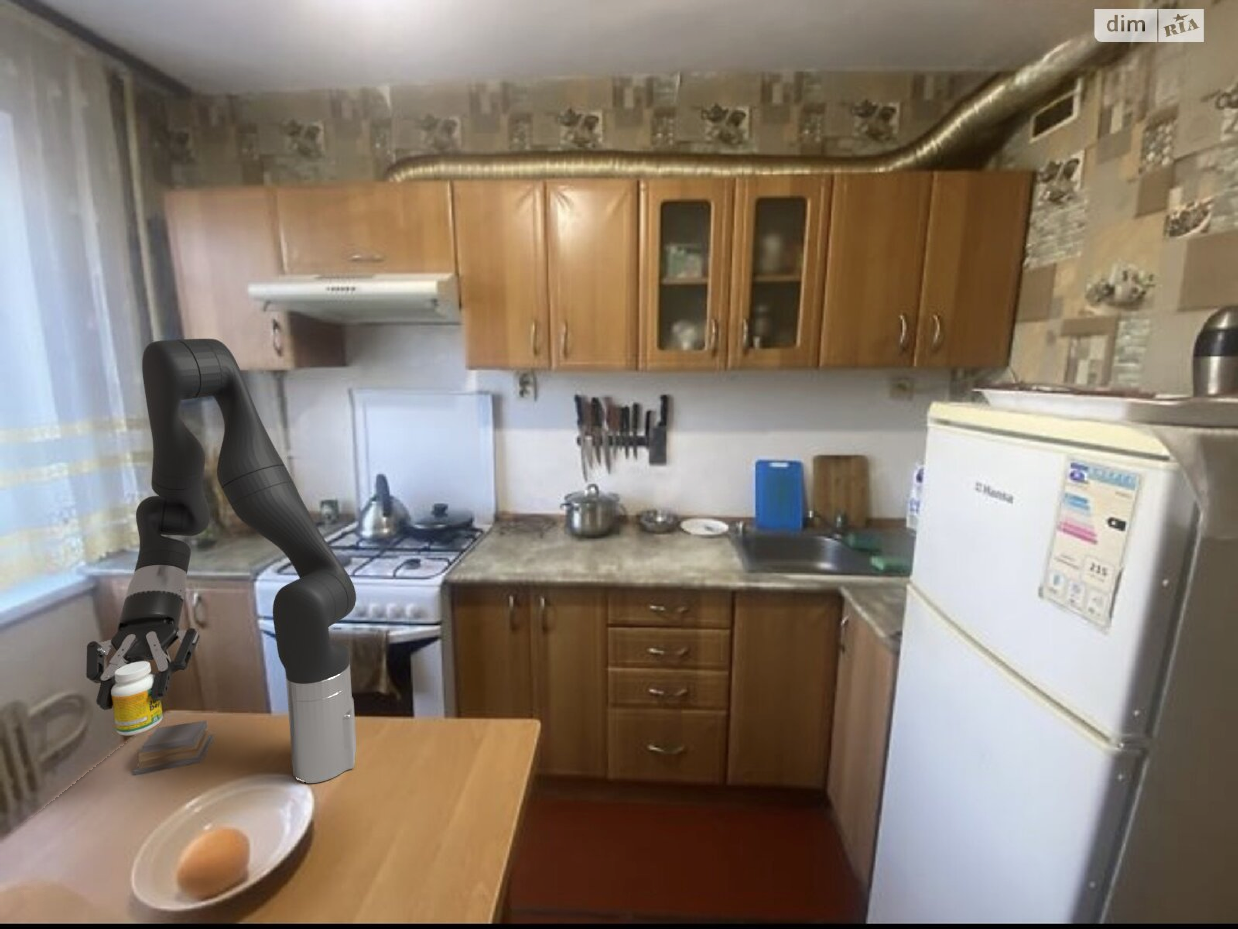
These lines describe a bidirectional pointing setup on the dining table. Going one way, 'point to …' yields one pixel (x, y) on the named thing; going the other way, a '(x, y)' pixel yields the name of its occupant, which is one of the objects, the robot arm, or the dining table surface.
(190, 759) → the offcut stack
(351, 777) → the dining table surface
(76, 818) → the dining table surface
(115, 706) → the supplement bottle
